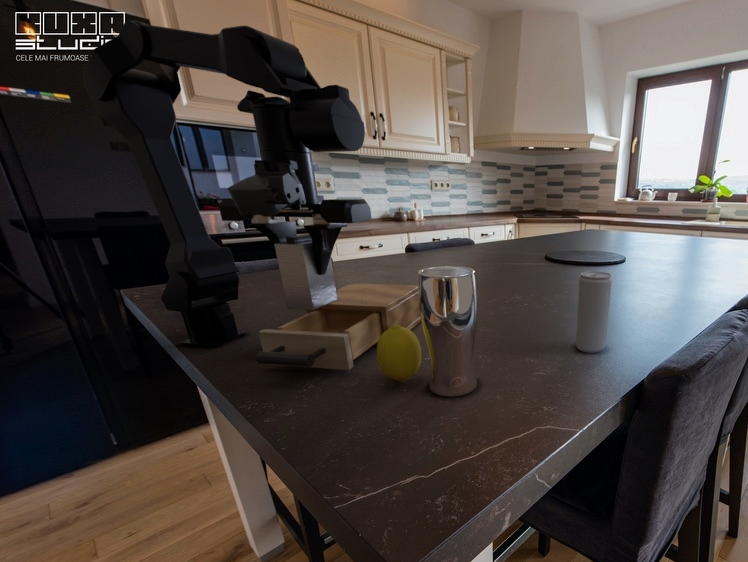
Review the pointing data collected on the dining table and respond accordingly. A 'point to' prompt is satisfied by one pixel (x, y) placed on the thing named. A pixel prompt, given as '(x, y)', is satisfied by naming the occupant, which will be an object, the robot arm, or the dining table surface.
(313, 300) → the tall upright grey box
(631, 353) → the dining table surface
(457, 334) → the beer glass
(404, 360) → the lemon
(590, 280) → the beverage can
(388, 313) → the cabinet
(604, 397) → the dining table surface
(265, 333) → the drawer
